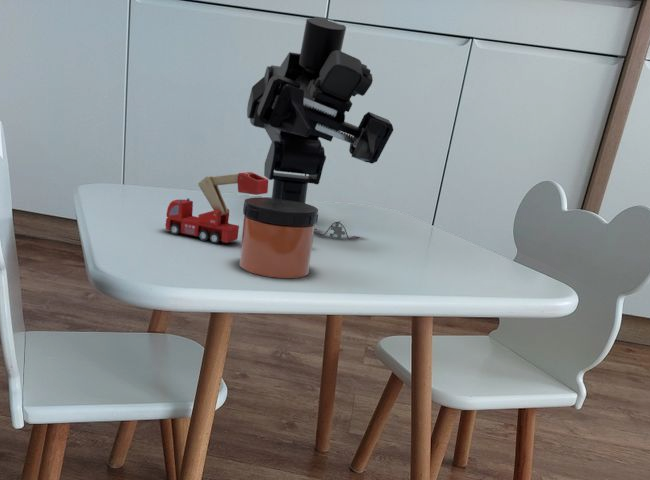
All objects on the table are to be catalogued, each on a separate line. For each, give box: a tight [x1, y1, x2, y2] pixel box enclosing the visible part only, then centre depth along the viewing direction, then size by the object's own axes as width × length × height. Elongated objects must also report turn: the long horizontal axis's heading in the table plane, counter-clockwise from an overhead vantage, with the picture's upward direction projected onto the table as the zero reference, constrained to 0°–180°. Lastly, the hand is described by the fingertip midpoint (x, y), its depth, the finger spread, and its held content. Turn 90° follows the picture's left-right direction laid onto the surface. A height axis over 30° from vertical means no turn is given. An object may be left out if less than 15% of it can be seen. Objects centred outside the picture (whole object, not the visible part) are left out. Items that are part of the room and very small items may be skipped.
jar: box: [239, 214, 316, 279], centre depth 81 cm, size 8×8×7 cm
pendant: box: [314, 220, 361, 240], centre depth 106 cm, size 8×4×3 cm, turn 88°
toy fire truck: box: [165, 171, 269, 244], centre depth 91 cm, size 3×14×10 cm, turn 68°
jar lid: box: [242, 197, 319, 226], centre depth 80 cm, size 9×9×2 cm
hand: (340, 145), depth 89 cm, fingers open, 9 cm apart
